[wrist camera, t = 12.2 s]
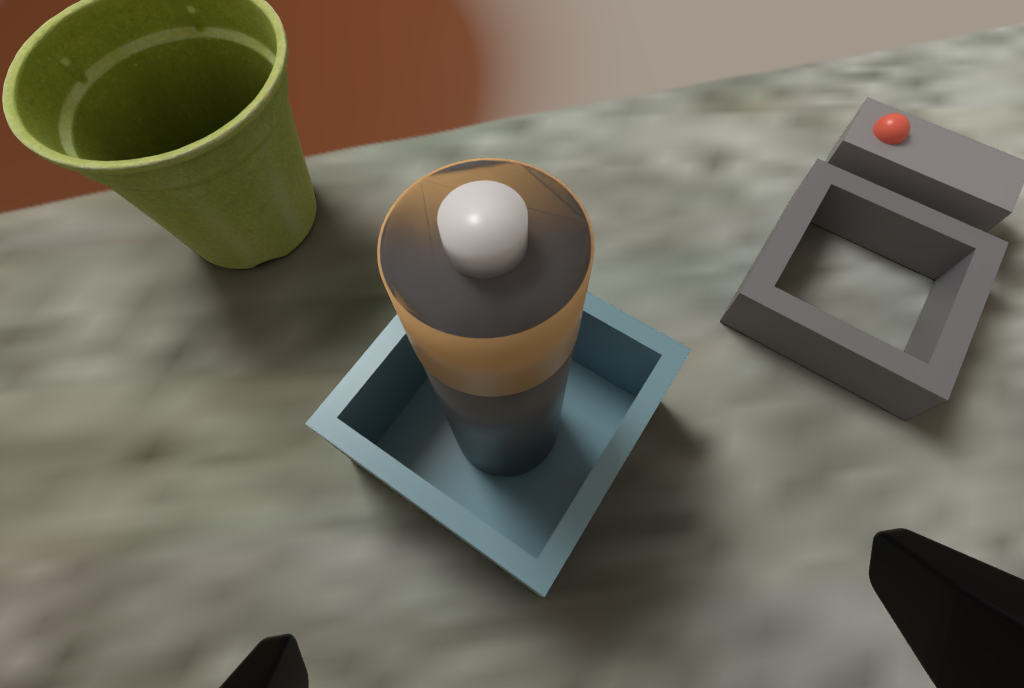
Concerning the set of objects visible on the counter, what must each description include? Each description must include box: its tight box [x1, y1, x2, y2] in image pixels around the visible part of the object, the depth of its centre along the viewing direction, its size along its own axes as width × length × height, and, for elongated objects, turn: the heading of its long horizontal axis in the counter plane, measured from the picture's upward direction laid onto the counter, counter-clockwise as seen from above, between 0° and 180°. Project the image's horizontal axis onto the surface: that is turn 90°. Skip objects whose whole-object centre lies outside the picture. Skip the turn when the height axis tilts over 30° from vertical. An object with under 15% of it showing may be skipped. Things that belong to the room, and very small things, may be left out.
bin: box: [305, 292, 691, 597], centre depth 20 cm, size 9×9×5 cm
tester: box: [720, 97, 1024, 420], centre depth 24 cm, size 8×12×4 cm, turn 146°
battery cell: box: [377, 158, 594, 477], centre depth 16 cm, size 4×4×13 cm
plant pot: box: [2, 0, 317, 269], centre depth 23 cm, size 9×9×9 cm
